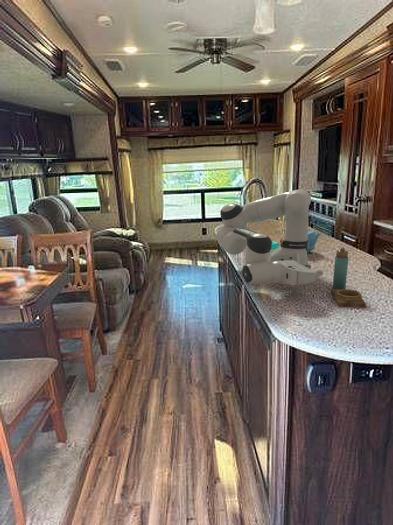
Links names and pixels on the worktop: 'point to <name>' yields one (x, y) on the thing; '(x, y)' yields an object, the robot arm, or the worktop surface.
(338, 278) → the pepper mill
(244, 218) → the robot arm
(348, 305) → the base
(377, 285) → the worktop surface
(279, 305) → the worktop surface
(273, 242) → the donuts
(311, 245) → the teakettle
